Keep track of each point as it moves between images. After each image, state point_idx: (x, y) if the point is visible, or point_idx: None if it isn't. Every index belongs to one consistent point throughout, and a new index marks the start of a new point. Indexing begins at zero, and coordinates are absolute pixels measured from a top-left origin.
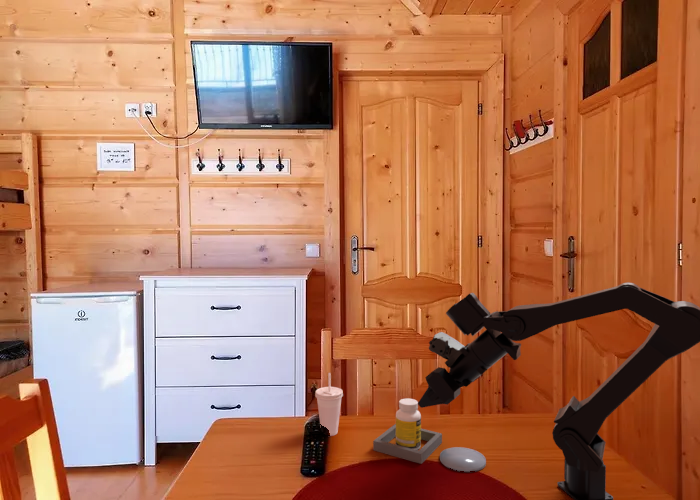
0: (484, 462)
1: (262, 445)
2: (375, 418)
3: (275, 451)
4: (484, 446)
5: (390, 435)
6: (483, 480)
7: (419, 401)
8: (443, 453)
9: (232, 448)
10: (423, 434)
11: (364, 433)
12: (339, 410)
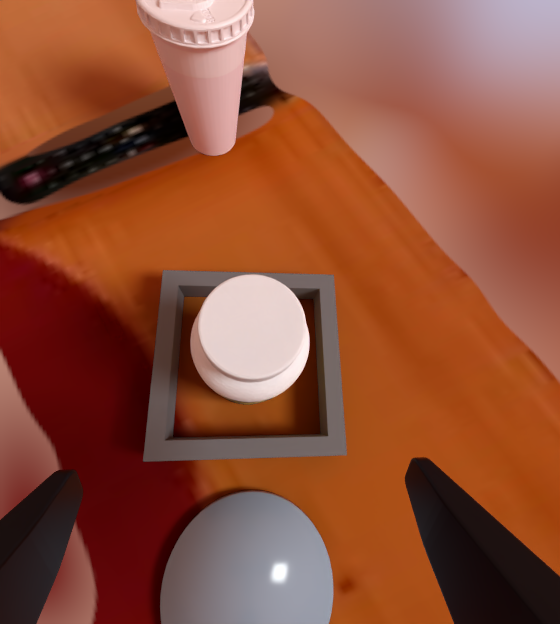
0: None
1: (65, 48)
2: (367, 197)
3: (47, 84)
4: (402, 613)
5: None
6: None
7: (26, 498)
8: (243, 504)
9: (21, 8)
10: (322, 384)
11: (259, 214)
12: (212, 97)
